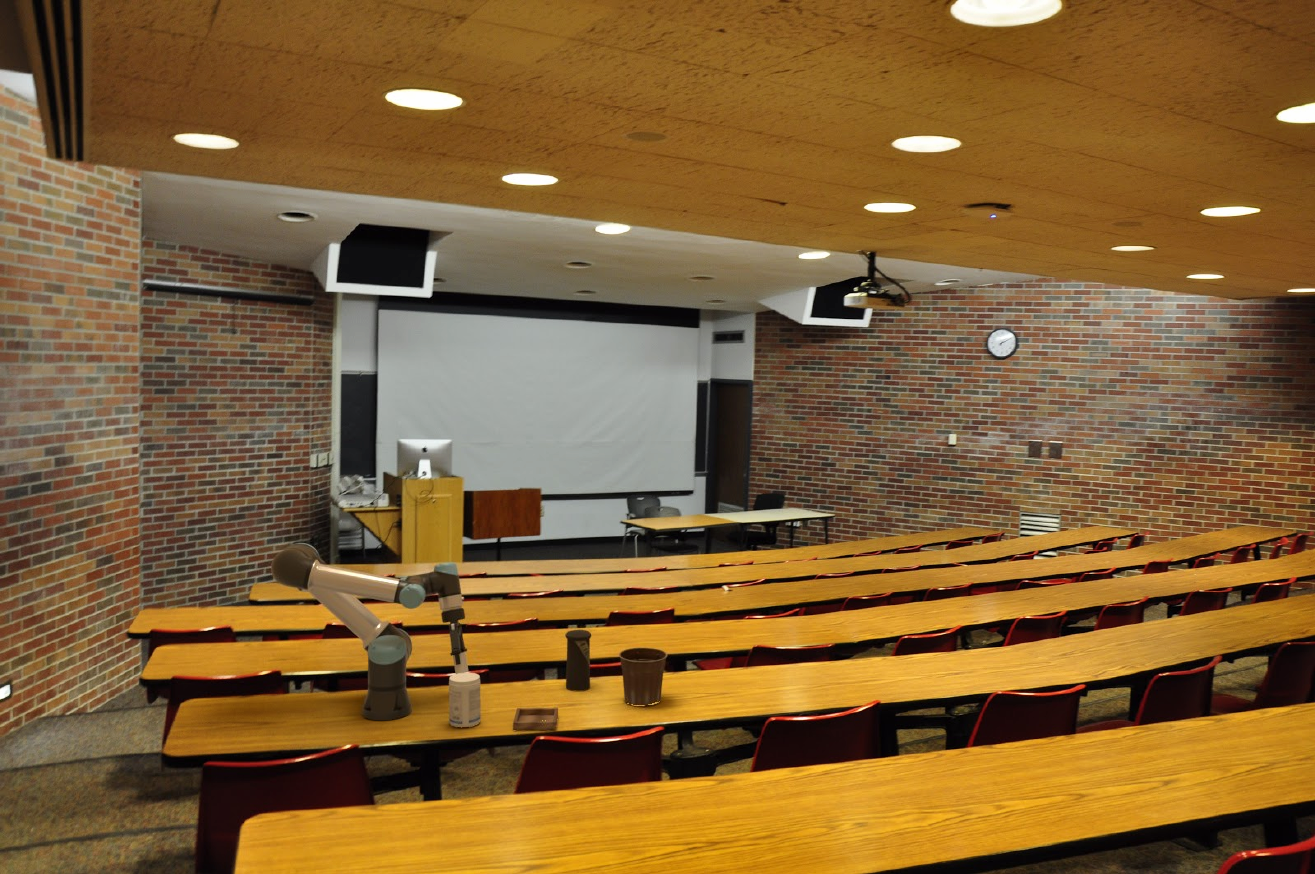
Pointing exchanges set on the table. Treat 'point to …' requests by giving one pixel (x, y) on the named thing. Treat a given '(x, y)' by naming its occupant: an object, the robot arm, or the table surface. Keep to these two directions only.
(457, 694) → the supplement tub
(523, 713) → the holder tray
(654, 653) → the plant pot
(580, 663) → the container
